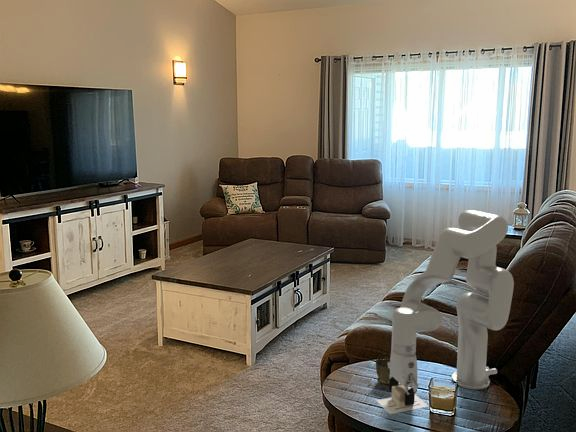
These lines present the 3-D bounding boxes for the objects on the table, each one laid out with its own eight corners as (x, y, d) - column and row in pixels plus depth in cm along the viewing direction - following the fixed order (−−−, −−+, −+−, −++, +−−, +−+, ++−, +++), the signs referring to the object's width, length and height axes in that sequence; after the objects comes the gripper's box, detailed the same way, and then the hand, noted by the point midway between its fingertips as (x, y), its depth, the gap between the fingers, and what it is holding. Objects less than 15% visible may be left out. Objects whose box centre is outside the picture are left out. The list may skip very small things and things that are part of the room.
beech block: (405, 398, 188) (405, 384, 187) (413, 405, 184) (413, 391, 183) (391, 400, 187) (391, 386, 186) (399, 408, 182) (399, 393, 181)
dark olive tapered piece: (396, 389, 195) (397, 367, 194) (374, 387, 197) (375, 365, 195) (397, 378, 202) (397, 357, 201) (375, 377, 204) (376, 356, 202)
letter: (413, 393, 192) (413, 393, 192) (428, 407, 183) (428, 406, 183) (376, 401, 187) (376, 400, 187) (389, 414, 179) (389, 414, 179)
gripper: (429, 356, 175) (426, 408, 178) (400, 335, 191) (398, 383, 194) (407, 359, 172) (404, 412, 175) (379, 338, 188) (378, 387, 191)
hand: (401, 397), depth 185 cm, fingers open, 9 cm apart
